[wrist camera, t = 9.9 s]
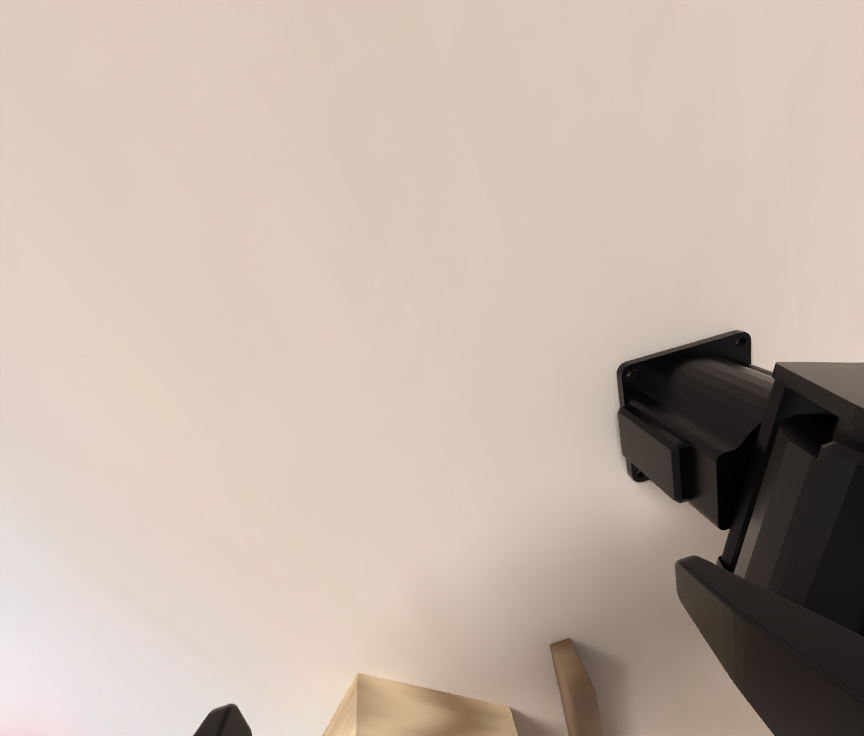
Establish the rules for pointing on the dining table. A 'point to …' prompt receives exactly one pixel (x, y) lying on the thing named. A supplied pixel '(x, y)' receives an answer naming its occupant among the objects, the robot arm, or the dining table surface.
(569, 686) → the brown angled piece
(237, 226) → the dining table surface
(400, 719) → the cream rectangular block
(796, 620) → the robot arm
